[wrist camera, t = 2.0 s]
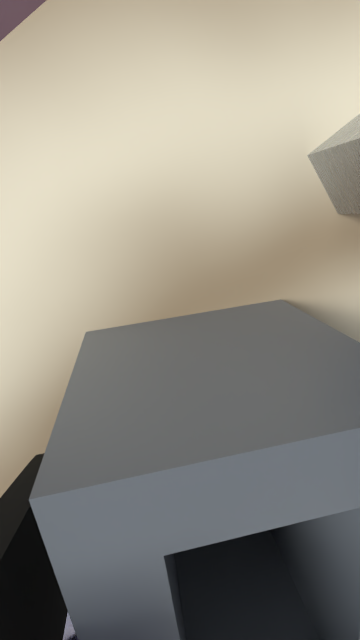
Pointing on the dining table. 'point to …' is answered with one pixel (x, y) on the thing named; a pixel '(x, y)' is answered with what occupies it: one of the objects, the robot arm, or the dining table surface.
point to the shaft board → (164, 178)
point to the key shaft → (340, 167)
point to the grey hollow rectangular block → (208, 480)
